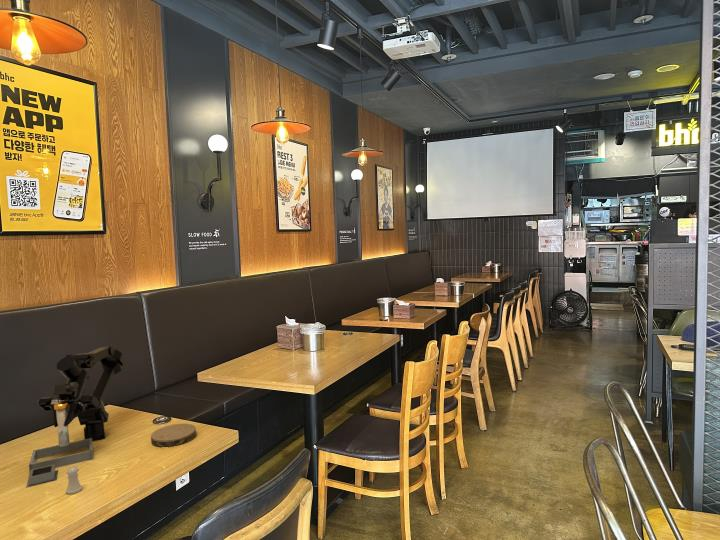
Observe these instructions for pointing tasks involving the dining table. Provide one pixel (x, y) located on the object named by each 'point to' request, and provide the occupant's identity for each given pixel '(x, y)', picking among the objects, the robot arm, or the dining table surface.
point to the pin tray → (64, 459)
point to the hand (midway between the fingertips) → (60, 426)
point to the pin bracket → (42, 475)
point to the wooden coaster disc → (173, 435)
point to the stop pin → (62, 423)
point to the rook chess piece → (73, 481)
